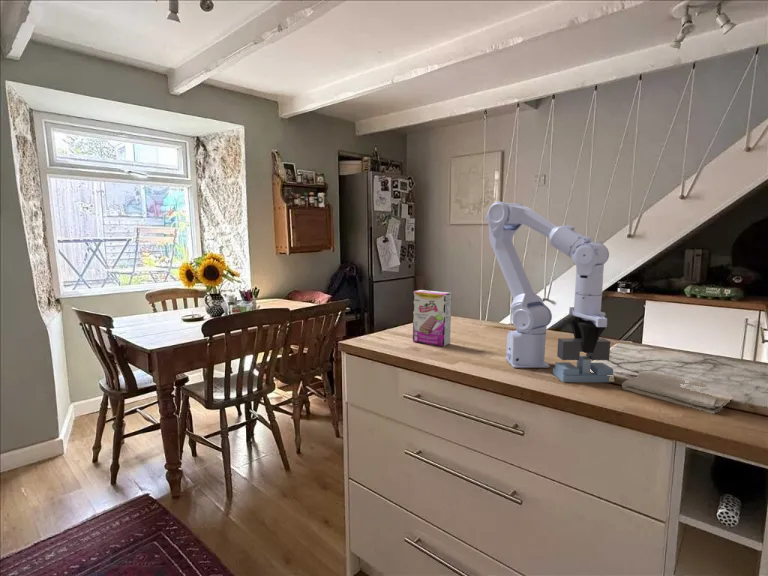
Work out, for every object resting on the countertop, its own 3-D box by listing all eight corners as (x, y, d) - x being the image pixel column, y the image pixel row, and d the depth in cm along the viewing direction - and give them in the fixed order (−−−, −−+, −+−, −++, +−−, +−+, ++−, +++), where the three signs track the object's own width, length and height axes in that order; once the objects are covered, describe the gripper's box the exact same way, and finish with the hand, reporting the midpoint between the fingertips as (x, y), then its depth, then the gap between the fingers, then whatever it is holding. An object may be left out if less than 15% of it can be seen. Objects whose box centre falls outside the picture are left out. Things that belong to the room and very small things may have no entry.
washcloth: (718, 418, 80) (720, 403, 80) (618, 391, 94) (619, 377, 94) (734, 402, 88) (735, 388, 87) (639, 379, 101) (640, 367, 101)
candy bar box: (412, 342, 134) (412, 291, 132) (419, 338, 138) (420, 289, 136) (444, 347, 128) (445, 294, 126) (450, 343, 132) (452, 292, 130)
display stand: (562, 382, 98) (564, 361, 97) (552, 373, 104) (553, 353, 103) (614, 382, 98) (616, 361, 97) (601, 373, 104) (602, 354, 103)
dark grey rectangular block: (562, 360, 99) (563, 341, 98) (557, 356, 102) (558, 338, 101) (609, 360, 99) (610, 341, 98) (602, 356, 102) (603, 338, 101)
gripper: (622, 298, 91) (618, 359, 93) (590, 289, 105) (587, 342, 107) (590, 298, 91) (586, 359, 93) (562, 289, 106) (559, 342, 107)
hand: (584, 350), depth 100 cm, fingers closed on dark grey rectangular block, 3 cm apart
